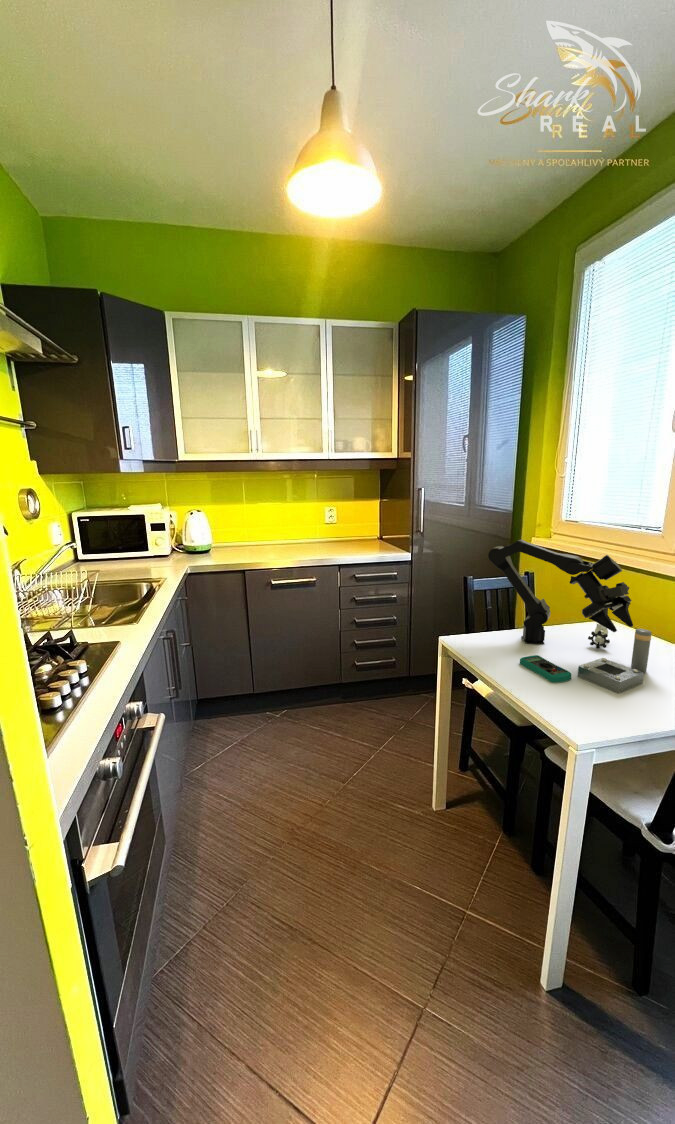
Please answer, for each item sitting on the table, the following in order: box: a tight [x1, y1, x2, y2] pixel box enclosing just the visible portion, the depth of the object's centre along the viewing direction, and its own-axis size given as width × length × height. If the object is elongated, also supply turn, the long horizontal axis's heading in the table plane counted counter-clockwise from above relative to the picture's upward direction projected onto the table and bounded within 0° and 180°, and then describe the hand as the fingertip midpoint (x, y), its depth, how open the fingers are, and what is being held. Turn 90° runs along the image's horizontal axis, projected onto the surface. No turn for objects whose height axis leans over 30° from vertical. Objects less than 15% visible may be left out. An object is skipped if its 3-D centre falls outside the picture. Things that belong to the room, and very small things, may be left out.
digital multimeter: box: [519, 654, 573, 684], centre depth 132 cm, size 7×15×3 cm, turn 17°
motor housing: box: [577, 657, 645, 694], centre depth 125 cm, size 12×12×4 cm
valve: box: [587, 622, 611, 650], centre depth 153 cm, size 7×7×12 cm
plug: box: [630, 628, 652, 674], centre depth 131 cm, size 4×4×13 cm
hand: (623, 628), depth 134 cm, fingers open, 9 cm apart
